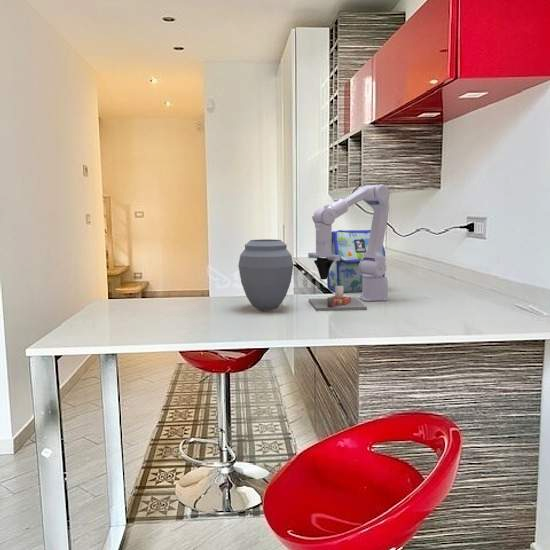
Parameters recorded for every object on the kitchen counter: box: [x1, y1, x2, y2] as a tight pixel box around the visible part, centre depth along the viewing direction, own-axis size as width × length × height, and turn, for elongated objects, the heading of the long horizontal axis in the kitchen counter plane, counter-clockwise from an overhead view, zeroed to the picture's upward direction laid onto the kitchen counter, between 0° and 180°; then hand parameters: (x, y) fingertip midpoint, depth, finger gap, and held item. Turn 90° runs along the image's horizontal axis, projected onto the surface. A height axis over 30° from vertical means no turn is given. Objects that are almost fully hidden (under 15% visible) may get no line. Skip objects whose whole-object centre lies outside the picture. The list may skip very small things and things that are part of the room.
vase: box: [238, 239, 294, 311], centre depth 190 cm, size 20×20×24 cm
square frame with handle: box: [327, 295, 352, 307], centre depth 193 cm, size 14×7×3 cm, turn 154°
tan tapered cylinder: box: [337, 300, 342, 306], centre depth 190 cm, size 2×2×2 cm
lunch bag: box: [326, 229, 386, 293], centre depth 229 cm, size 22×17×26 cm
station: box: [308, 286, 368, 312], centre depth 196 cm, size 18×19×7 cm
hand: (323, 279), depth 195 cm, fingers closed
